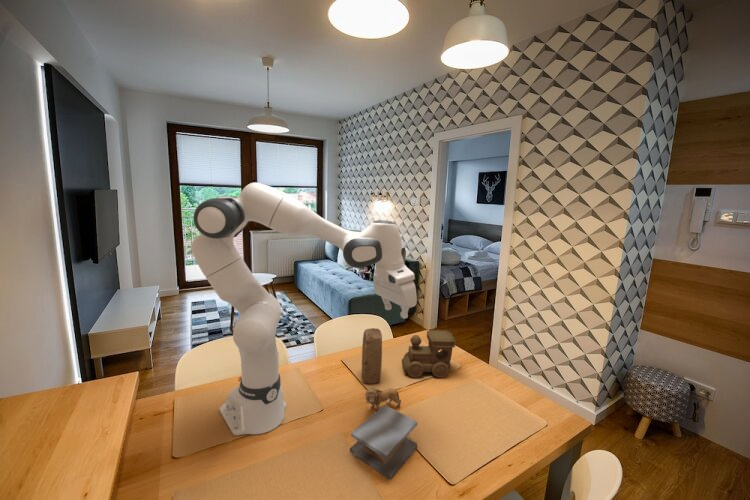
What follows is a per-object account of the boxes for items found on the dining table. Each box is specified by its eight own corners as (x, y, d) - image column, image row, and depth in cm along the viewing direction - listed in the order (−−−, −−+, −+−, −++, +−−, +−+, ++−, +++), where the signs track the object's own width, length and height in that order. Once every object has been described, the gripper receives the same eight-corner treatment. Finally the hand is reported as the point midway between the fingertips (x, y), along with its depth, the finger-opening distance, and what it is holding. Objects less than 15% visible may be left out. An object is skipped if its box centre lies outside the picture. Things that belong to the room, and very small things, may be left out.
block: (381, 385, 125) (383, 337, 121) (361, 385, 124) (363, 336, 121) (378, 370, 136) (380, 325, 132) (360, 370, 135) (362, 325, 131)
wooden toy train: (445, 364, 142) (448, 329, 139) (453, 379, 131) (456, 341, 128) (400, 364, 141) (403, 328, 138) (404, 379, 130) (407, 340, 127)
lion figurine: (368, 420, 106) (370, 395, 104) (361, 410, 110) (362, 386, 108) (404, 406, 113) (406, 383, 112) (396, 397, 118) (397, 375, 116)
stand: (347, 454, 91) (348, 431, 90) (380, 424, 104) (381, 403, 102) (387, 482, 83) (389, 457, 82) (418, 445, 96) (420, 423, 94)
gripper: (366, 268, 107) (372, 307, 110) (399, 280, 89) (405, 326, 92) (382, 264, 110) (387, 302, 113) (418, 275, 92) (423, 319, 95)
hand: (396, 313), depth 102 cm, fingers open, 8 cm apart
